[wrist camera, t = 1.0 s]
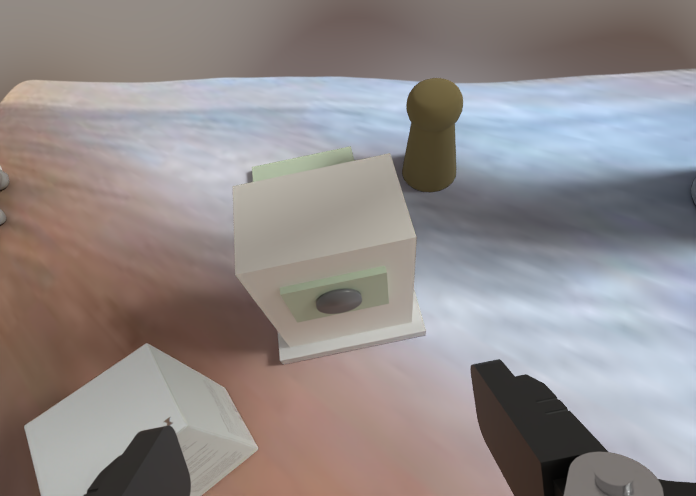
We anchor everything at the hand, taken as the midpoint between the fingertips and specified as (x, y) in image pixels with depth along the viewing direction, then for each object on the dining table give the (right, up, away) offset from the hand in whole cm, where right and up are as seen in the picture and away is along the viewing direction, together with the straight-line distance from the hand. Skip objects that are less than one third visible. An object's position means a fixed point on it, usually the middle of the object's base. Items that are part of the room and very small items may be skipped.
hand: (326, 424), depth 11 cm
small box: (-12, -12, +23) cm, 29 cm away
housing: (0, -1, +28) cm, 28 cm away
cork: (+10, +13, +36) cm, 39 cm away
